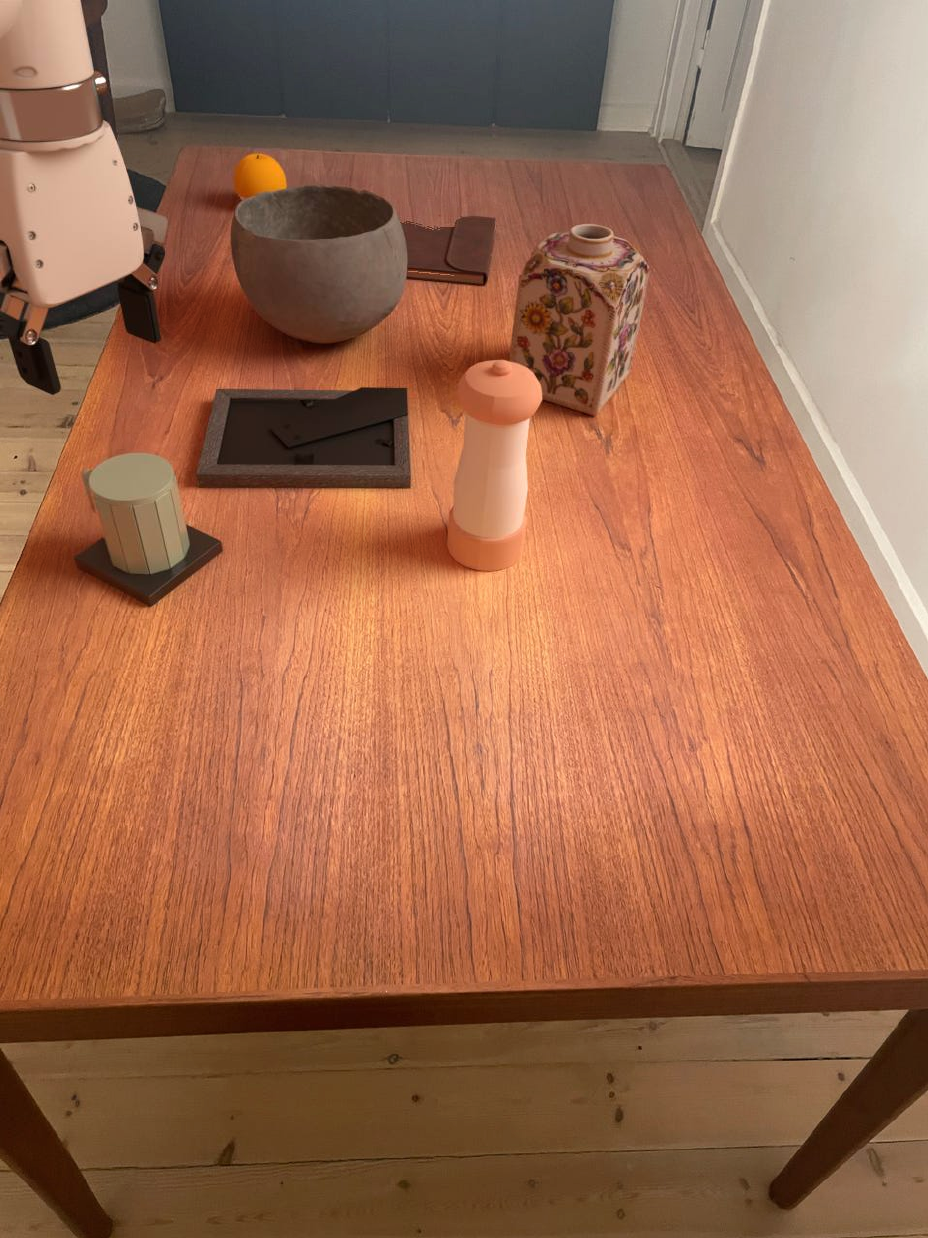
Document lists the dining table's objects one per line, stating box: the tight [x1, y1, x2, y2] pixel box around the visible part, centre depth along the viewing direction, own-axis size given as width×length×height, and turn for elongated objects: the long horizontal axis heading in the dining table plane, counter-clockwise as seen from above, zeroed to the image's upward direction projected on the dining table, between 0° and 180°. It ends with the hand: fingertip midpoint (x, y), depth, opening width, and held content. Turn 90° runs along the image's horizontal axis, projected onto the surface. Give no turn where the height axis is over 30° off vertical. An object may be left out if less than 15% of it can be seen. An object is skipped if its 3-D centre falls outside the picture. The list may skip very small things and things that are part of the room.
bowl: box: [230, 184, 407, 344], centre depth 109 cm, size 20×20×15 cm
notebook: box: [400, 215, 498, 286], centre depth 132 cm, size 15×20×2 cm
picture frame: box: [196, 386, 412, 489], centre depth 96 cm, size 16×2×21 cm
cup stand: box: [73, 524, 224, 608], centre depth 79 cm, size 9×9×8 cm
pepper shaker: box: [446, 359, 543, 572], centre depth 79 cm, size 7×7×19 cm
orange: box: [232, 153, 288, 198], centre depth 139 cm, size 8×8×8 cm
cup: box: [81, 452, 190, 574], centre depth 79 cm, size 7×10×8 cm
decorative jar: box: [508, 223, 651, 417], centre depth 102 cm, size 12×12×18 cm
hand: (95, 361), depth 68 cm, fingers open, 9 cm apart
